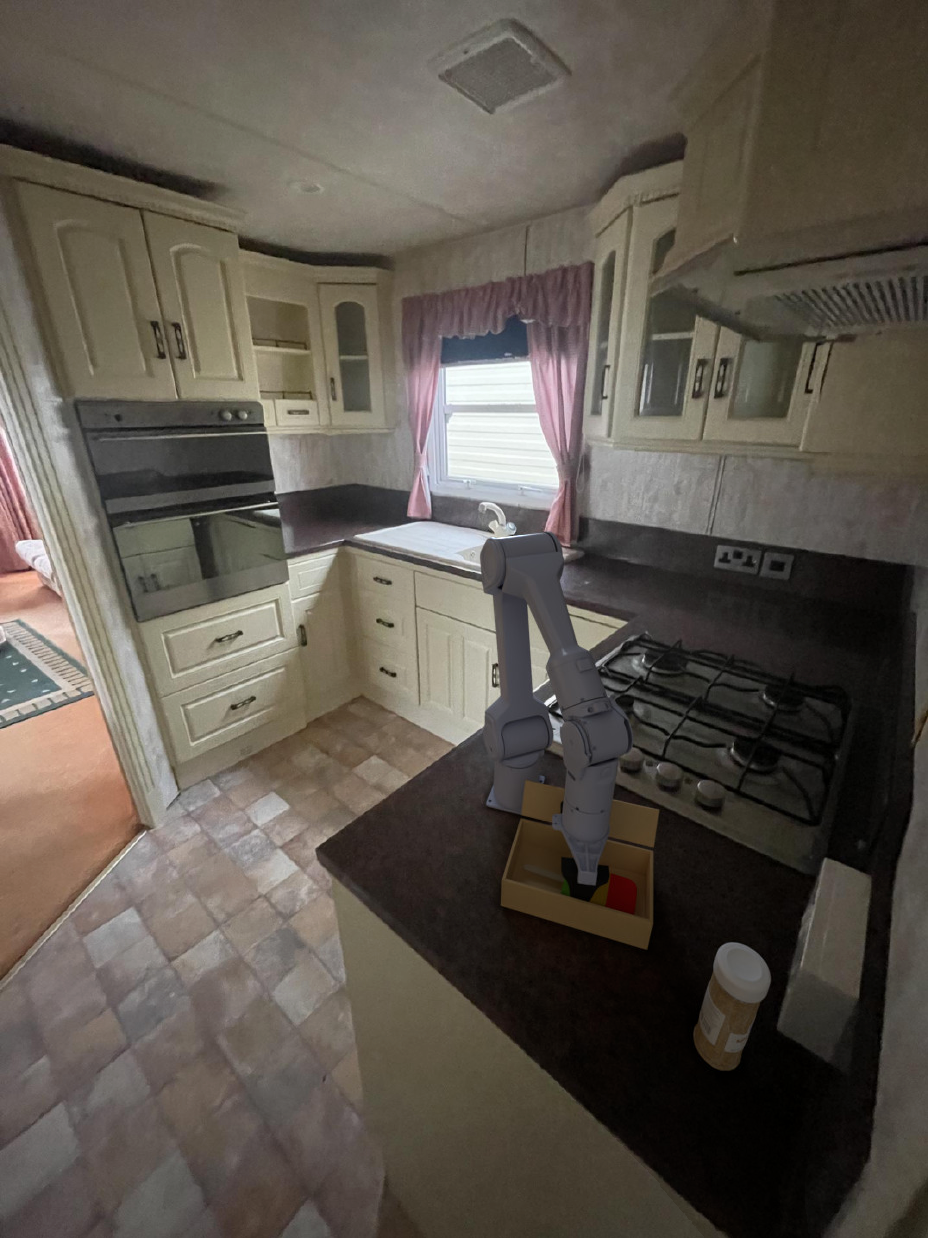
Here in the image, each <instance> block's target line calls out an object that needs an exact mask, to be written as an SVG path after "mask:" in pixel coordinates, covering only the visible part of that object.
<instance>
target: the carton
mask: <svg viewBox="0 0 928 1238" xmlns="http://www.w3.org/2000/svg"><path fill="white" fill-rule="evenodd" d="M511 845H512V846H511V849H510V852H509V855H508V859H507V861H506V865H505V867H504V872H503V875H502V878H501V887H500V888H501V889H500V891H501V893H500V906H501V907H504V908H507V909H510V910H513V911H517V912H519V913H523V914H527V915H530V916H533V917H537V918H540V919H544V920H547V921H549V922H553V923H557V924H560V925H563V926H567V927H570V928H573V929H577V930H580V931H583V932H585V933H590V934H593V935H596V936H600V937H603V938H607V939H610V940H612V941H616V942H620V943H622V944H626V945H629V946H632V947H636V948H639V949H643V950H646V951H648V949H649V943H650V939H651V935H652V930H653V925H654V850H651V849H648V848H643V847H639V846H635V845H632V844H628V843H624V842H623V843H622V842H619V841H614V840H611V839H607V842H606V845H605V847H604V850H603V853H602V855H601V858H600V861H599V863H598V864H599V865H607V866H609V873H612V874H616V875H619V876H622V877H625V878H628V879H630V880H632V881H633V882H634V883H635V884H636V887H637V898H636V907H635V913H634V915H632V914H628V913H625V912H621V911H618V910H614V909H611V908H607V907H604V906H600V905H597V904H593V903H590V902H586V901H583V900H579V899H576V898H572V897H569V896H565V895H562V894H561V890H562V886H563V883H561V882H558V881H555V880H552V879H549V878H546V877H543V876H540V875H537V874H534V873H531V872H528V871H525V870H524V869H523V866H524V864H529V865H532V866H535V867H538V868H542V869H545V870H548V871H551V872H554V873H557V874H560V875H562V872H561V857H567V858H574V857H573V855H572V853H571V852H570V850H569V847H568V844H567V842H566V840H565V838H564V836H563V834H562V832H561V831H560V830H555V829H553V827H552V824H546V823H542V822H538V821H534V820H531V819H526V818H522V817H521V818H520V820H519V823H518V826H517V829H516V832H515V836H514V839H513V842H512V844H511Z"/></svg>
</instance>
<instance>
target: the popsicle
mask: <svg viewBox="0 0 928 1238" xmlns="http://www.w3.org/2000/svg"><path fill="white" fill-rule="evenodd" d="M523 869H524V870H525V871H528V872H531V873H534V874H537V875H540V876H543V877H546V878H549V879H552V880H555V881H558V882H561V883H563V886H562V890H561V894H562V895H565V896H569V897H570V891H569V885H568V883H567V881H566V880H565V879H564V878H563V875H560V874H557V873H554V872H551V871H548V870H545V869H542V868H538V867H535V866H532V865H529V864H524V866H523ZM609 874H610V877H609V881H608V883H607V884H604V885H602V886H601V887H599V888H598V889H597V890H596V891H595V893H594V895H593V896H592V898H591V900H590V901H589V902H590V903H593V904H597V905H600V906H604V907H607V908H611V909H614V910H618V911H621V912H625V913H628V914H632V915H634V913H635V907H636V898H637V887H636V884H635V883H634V882H633V881H632V880H630V879H628V878H625V877H622V876H619V875H616V874H612V873H609Z"/></svg>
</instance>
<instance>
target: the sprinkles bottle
mask: <svg viewBox="0 0 928 1238" xmlns="http://www.w3.org/2000/svg"><path fill="white" fill-rule="evenodd" d="M771 982H772V976H771V970H770V969H769V966H768V964H767V963H766V961H765V960H764V958H763V957H762V956H761V955H760V954H759V953H758V952H756V951H755V950H754V949H752V948H751V947H750V946H748V945H746V944H743V943H740V942H726V943H724V944H721V946H719V948H718V949H717V952H716V954H715V957H714V961H713V971H712V974H711V977H710V980H709V982H708V984H707V988H706V990H705V993H704V998H703V1000H702V1004H701V1008H700V1011H699V1017H698V1021H697V1023H696V1024H695V1026H694V1029H693V1033H692V1034H693V1035H692V1037H693V1038H692V1039H693V1042H694V1046H695V1049H696V1050H697V1053H698V1054H699V1055H700V1057H701V1058H702V1059H703V1060H704V1061H705V1062H706V1063H707V1064H708V1065H709V1066H711V1067H712V1068H714V1069H716V1070H718V1071H722V1072H723V1071H724V1072H725V1071H727V1072H728V1071H733V1070H735V1069H736V1068H737V1067H738V1066H739V1064H740V1063H741V1058H742V1053H743V1050H744V1047H746V1044H747V1041H748V1039H749V1036H750V1033H751V1031H752V1027H753V1025H754V1022H755V1020H756V1017H757V1012H758V1010H759V1007H760V1005H761V1002H762V1001H763V1000H764V999H765V998H766V997H767V995H768V992H769V989H770V986H771V984H772V983H771Z"/></svg>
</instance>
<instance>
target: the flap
mask: <svg viewBox="0 0 928 1238" xmlns="http://www.w3.org/2000/svg"><path fill="white" fill-rule="evenodd" d="M564 792H565V787H559V786H555V785H551V784H546V783H544V784H542V782H541V783H538V782H533V781H529V780H525V788H524V796H523V804H522V813H521V815H520V816H522V817H523V816H524V817H527V818H530V819H531V818H532V819H535V820H539V821H544V822H548V823H551V824H552V817H553V815H554V814H561V813H560V804H561V802H562V801H564ZM659 815H660V809H658V808H653V807H649V806H645V805H640V804H635V803H631V802H627V801H622V800H618V799H613V801H612V808H611V814H610V820H609V825H610V832H609V837H608V838H613V839H616V840H621V841H624V842H628V843H633V844H637V845H641V846H644V847H645V846H646V847H649V848H653V849H654V848H655V843H656V837H657V836H656V835H657V828H658V823H659V817H660V816H659Z"/></svg>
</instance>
